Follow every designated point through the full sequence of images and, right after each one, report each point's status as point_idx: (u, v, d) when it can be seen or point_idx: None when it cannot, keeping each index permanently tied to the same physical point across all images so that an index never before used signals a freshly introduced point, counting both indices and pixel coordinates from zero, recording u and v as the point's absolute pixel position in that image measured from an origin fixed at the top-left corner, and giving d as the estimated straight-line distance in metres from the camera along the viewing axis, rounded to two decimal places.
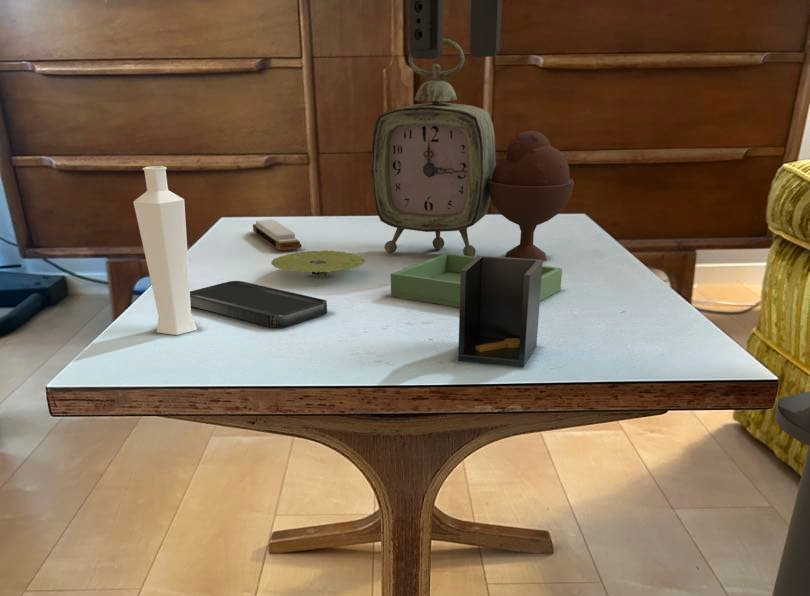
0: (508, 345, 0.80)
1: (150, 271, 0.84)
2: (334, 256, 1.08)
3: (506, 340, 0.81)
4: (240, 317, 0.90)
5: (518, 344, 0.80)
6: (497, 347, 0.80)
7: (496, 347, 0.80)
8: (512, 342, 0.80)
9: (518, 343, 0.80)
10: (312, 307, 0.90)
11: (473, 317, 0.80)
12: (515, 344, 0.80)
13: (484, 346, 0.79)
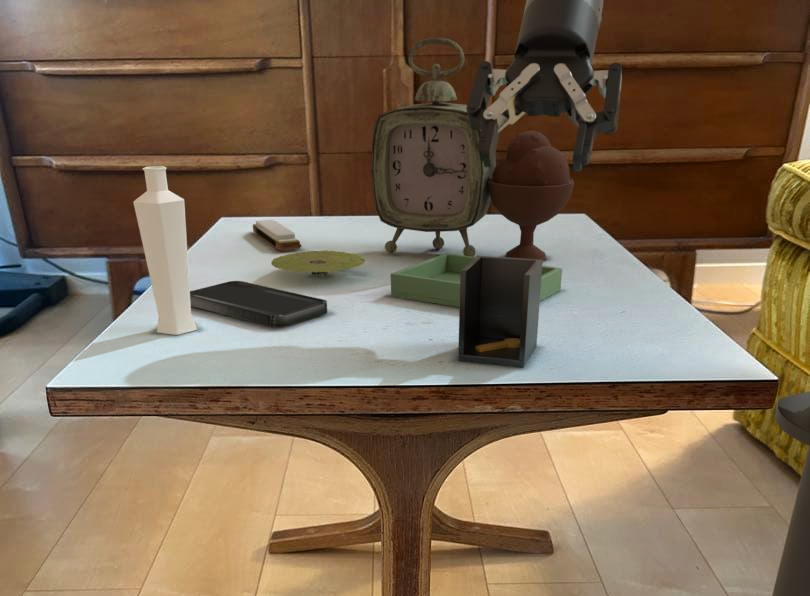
0: (508, 345, 0.80)
1: (150, 271, 0.84)
2: (334, 256, 1.08)
3: (506, 340, 0.81)
4: (240, 317, 0.90)
5: (518, 344, 0.80)
6: (497, 347, 0.80)
7: (496, 347, 0.80)
8: (512, 342, 0.80)
9: (518, 343, 0.80)
10: (312, 307, 0.90)
11: (473, 317, 0.80)
12: (515, 344, 0.80)
13: (484, 346, 0.79)
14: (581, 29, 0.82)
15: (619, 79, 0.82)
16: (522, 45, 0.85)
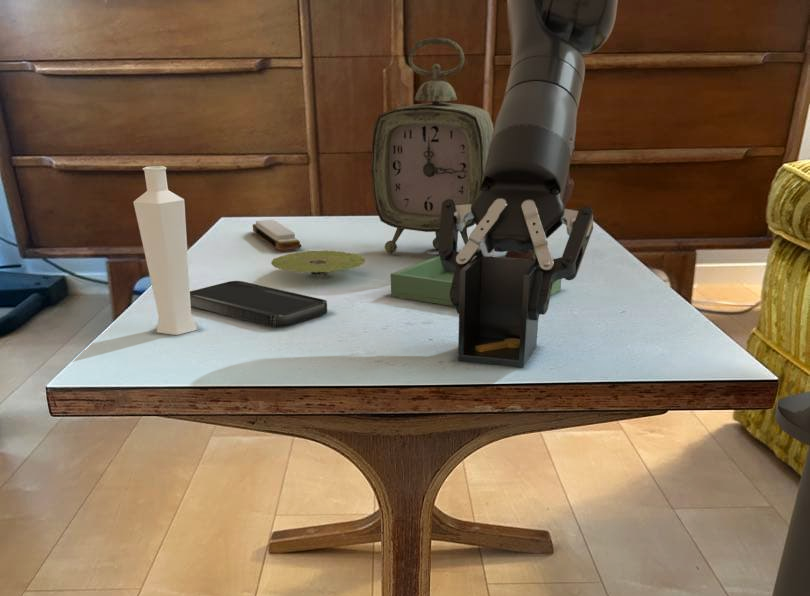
0: (508, 345, 0.80)
1: (150, 271, 0.84)
2: (334, 256, 1.08)
3: (506, 340, 0.81)
4: (240, 317, 0.90)
5: (518, 344, 0.80)
6: (497, 347, 0.80)
7: (496, 347, 0.80)
8: (512, 342, 0.80)
9: (518, 343, 0.80)
10: (312, 307, 0.90)
11: (473, 317, 0.80)
12: (515, 344, 0.80)
13: (483, 346, 0.79)
14: (551, 164, 0.77)
15: (586, 225, 0.76)
16: (489, 177, 0.79)
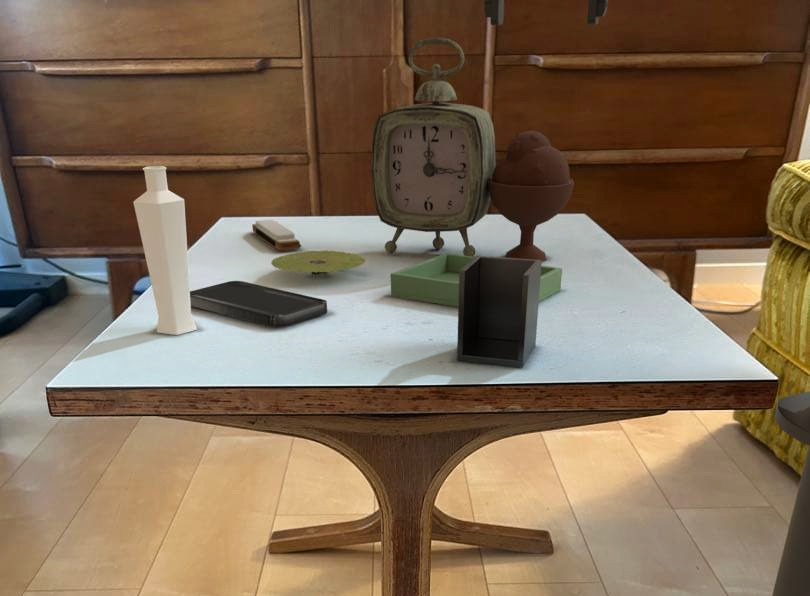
0: None
1: (150, 271, 0.84)
2: (334, 256, 1.08)
3: None
4: (240, 317, 0.90)
5: None
6: None
7: None
8: None
9: None
10: (312, 307, 0.90)
11: (472, 317, 0.80)
12: None
13: None
14: None
15: None
16: None
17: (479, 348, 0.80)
